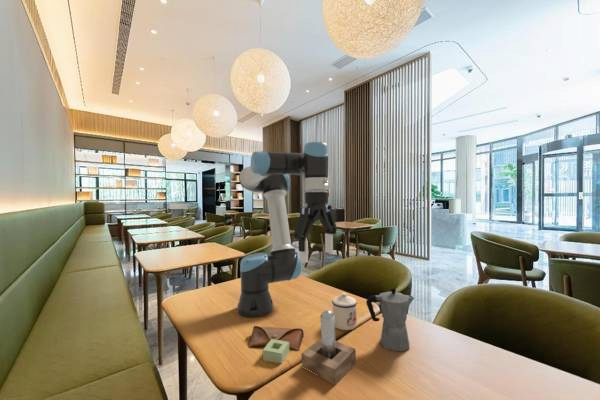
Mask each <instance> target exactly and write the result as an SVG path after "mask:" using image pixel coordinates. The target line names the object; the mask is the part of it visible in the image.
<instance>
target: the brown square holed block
mask: <svg viewBox="0 0 600 400" xmlns="http://www.w3.org/2000/svg"><path fill="white" fill-rule="evenodd" d="M335 344H336V356H335V357H334V358H333V359H332V360H331V359H329V358H327V357H325V356H323V355H322V352H321V338H319V339H318V340H317V341H315V342H314V343H313V344H312V345H310V346H309V347H308V348H306V349H304V351H302V352H301V368H302V367H304V368H306V369H308V370H310V371H312V372H313V373H315V374H317V375H318V376H317V375H316V376H317V377H319V376H320V377H319V378H321V377H322V378H324V379H326V380H327V381H326V380H325V381H326V382H328V381H329V382H328V383H330V382H331V383H330V384H332V383H333V384H332V385H333V386H337V385H338V383H339V382H340V381H341V380H342V379H343V378H344V376H346V374H347V373H348V372H349V371H350V370H351V369H352V368H353V367H352V366H355V364H357V356H356V355H357V352H356V348H354V347H352V346H350V345H346V344H344V343H343V342H339V341H337V340H335ZM304 368H303V369H304ZM306 369H305V370H306ZM313 373H312V374H313ZM315 374H314V375H315ZM322 378H321V379H322ZM324 379H323V380H324Z"/></svg>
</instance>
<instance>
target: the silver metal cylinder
mask: <svg viewBox="0 0 600 400" xmlns="http://www.w3.org/2000/svg"><path fill="white" fill-rule="evenodd" d="M320 339H321V352H322V355H323V356H325V357H327V358H329V359H331V360H332V359H333V358H334V357H335V356H336V344H335V341H336V327H335V316H334V315H333V311H332V310H329V309H325V310H324V311H323V312H322V313H321V314H320Z"/></svg>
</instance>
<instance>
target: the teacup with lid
mask: <svg viewBox="0 0 600 400" xmlns="http://www.w3.org/2000/svg"><path fill="white" fill-rule="evenodd" d="M331 303H332V313H333V315H334V316H335V329H338V330H341V331H350V330H351V331H352V330H354V329H356V327H357V325H358V322H357V321H358V319H357V315H358V314H357V304H358V302H357V299H356V298H354V297H352V296H349V295H348V294H347V293H346V292H341V294H340V295H337V296H335V297H333V298H332V301H331Z"/></svg>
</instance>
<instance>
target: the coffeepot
mask: <svg viewBox="0 0 600 400" xmlns="http://www.w3.org/2000/svg"><path fill="white" fill-rule="evenodd" d="M396 291H397V288H396V287H390V291H385V292H380V293H379V294H378V295H377V294H376V295H370V296H369V297H368V298H367V299H366V302H365V303H366V306H367V308H368V312H369V313H370V314H369V315H370V317H371V319H372V321H373V322H379V321H380V318H379V317H376V312H375V310H374V305H373V303H374V302H375V303H379V305H380V311H381V316H382V319H383V321H382V326H381V327H382V328H381V335H380V344H381V345H382V346H383V347H384V348H385V349H387V350H390V351H391V352H399V353H401V352H405V351H408V350H409V349H410V340H409V335H408V334H409V333H408V328H407V323H406V321H407V316H408V310H409V309H408V308H409V307H410V305H411V303H412V301H414V300H415V298H414V297H413V296H412V295H408V294H404V293H401V292H396Z"/></svg>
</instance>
